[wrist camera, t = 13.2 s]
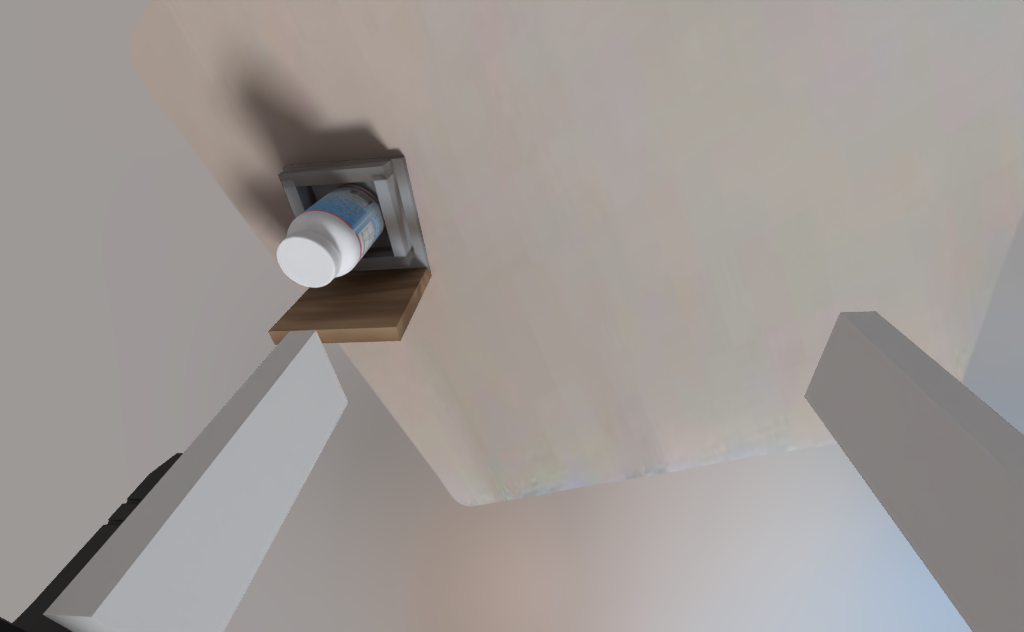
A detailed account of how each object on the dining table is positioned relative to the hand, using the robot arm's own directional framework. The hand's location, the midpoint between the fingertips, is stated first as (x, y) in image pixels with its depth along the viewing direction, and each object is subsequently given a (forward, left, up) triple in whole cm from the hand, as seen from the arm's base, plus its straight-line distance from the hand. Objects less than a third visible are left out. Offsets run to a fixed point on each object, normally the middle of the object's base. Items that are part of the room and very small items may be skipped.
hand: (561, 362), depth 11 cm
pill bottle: (+6, -20, -31) cm, 37 cm away
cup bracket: (+8, -20, -32) cm, 38 cm away
